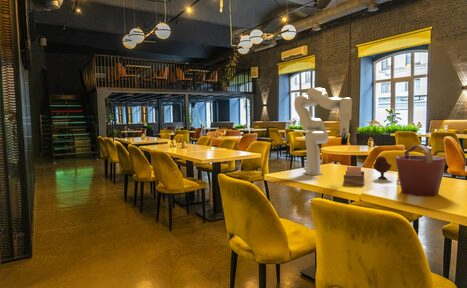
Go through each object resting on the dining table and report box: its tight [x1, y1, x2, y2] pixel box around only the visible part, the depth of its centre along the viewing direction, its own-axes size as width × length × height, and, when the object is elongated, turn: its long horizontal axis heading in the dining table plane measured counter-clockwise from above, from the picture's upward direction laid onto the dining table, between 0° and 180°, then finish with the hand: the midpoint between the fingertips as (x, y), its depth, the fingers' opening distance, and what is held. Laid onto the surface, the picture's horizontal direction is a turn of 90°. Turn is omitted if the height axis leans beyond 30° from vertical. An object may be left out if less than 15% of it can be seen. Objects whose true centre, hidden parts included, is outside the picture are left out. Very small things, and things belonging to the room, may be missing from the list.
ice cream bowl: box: [373, 155, 392, 180], centre depth 210 cm, size 11×11×15 cm
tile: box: [346, 165, 362, 175], centre depth 200 cm, size 3×8×9 cm, turn 68°
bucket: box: [395, 144, 446, 197], centre depth 168 cm, size 24×22×25 cm
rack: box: [342, 170, 366, 187], centre depth 200 cm, size 17×12×6 cm
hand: (344, 144), depth 208 cm, fingers open, 9 cm apart
